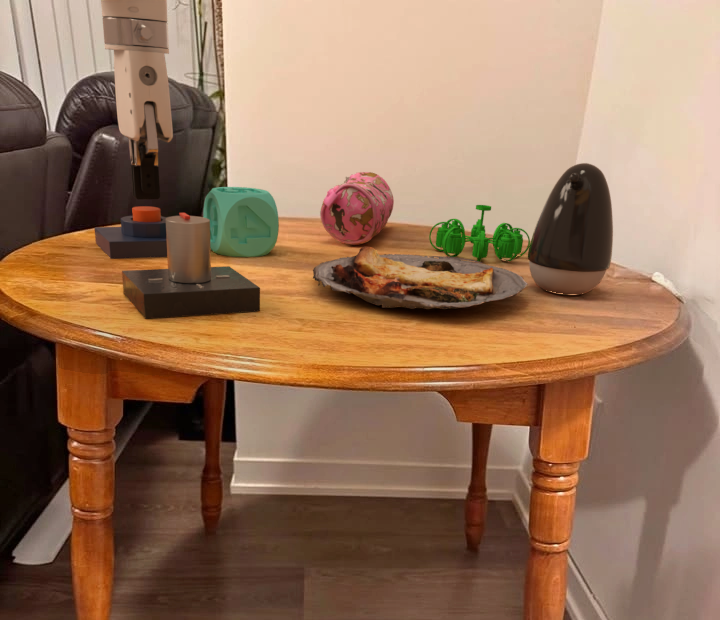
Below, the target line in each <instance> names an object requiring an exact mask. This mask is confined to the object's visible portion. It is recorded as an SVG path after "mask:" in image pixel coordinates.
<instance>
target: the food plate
mask: <svg viewBox="0 0 720 620" xmlns="http://www.w3.org/2000/svg"><path fill="white" fill-rule="evenodd" d="M312 274H313V276H312V279H314V281H316V282H317V283H318V285H317V287H319V286H321V285H322V287H323V288H325V287H326V286H330V289H331V291H334V292H345V293H348V294H349V295H351V294H353V295H354V296H356V297H357V298H360V299H362V300H364V301H365V302H367V303H370V304H373V305H376V306H381V309H383V308H385V309H386V308H388V309H389V308H390V309H391V308H392V309H394V308H407V309H410V310H411V309H412V310H414V309H424V310H425V309H426V310H430V309H440V310H446V309H447V310H450V309H454V310H455V309H460V308H462V309H464V308H469V307H473V306H478V305H481V304H483V303H488V302H492V301H499V300H502V301H505V300H506V298H510V297H515V296H516V295H517V294H519V293H521V292H522V291H524V289H526V287H527V286H528V285H529V283H528V282H526V280H524V277H523V276H521V275H519V274H518V273H516V272H514V271H512V270H508V269H506V268H502V267H498V266H494V265H489V264H486V263H485V262H482V261H481V262H479V261H477V260H475V259H470V258H464V257H458V256H456V257H449V256H445V255H443V256H441V255H432V256H428V255H420V254H410V253H409V254H404V253H402V254H401V253H400V254H399V253H394V254H393V253H388V254H386V253H385V254H379V252H378V250H377V249H375V248H374V247H371V246H362V247H360V249H359V250H358V253H357V254H355V255H354V256H346V257H345V256H343V257H339V258H336V259H332V260H328V261H327V260H326V261H324V262H323V261H322V262H320V263H319V264H317V265H316V266H314V267H313V268H312ZM320 283H321V285H320Z"/></svg>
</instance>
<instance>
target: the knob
mask: <svg viewBox="0 0 720 620" xmlns="http://www.w3.org/2000/svg"><path fill="white" fill-rule="evenodd" d="M166 217H167V218H166V238H167V257H166V258H167V269H168V278H169V279H170V280H171V281H174V282H179V283H203V282H207V281H210V280H211V267H212V261H211V260H212V259H211V257H212V256H211V255H212V254H211V252H212V251H211V248H210V220H209V219H207V218H204V216H196V215H189V214H188V213H186V212H179V215H172V216H166Z"/></svg>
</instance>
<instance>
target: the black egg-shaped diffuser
mask: <svg viewBox="0 0 720 620" xmlns="http://www.w3.org/2000/svg"><path fill="white" fill-rule="evenodd" d="M606 178H607V177H606V176H605V174H604V173H603V171H602V170H601V169H600V168H599V167H598V166H596V165H595V164H592V163H588V162H581V163H577V164H574V165H571V166H570V167H568V168H567V169H566V170H565V171H564V172H563V173H562V174H561V176H560V177H559V178H558V179H557V181H556V182H555V184H554V185H553V187H552V189H551V190H550V193H549V195H548V196H547V198H546V201H545V203H544V204H543V207H542V210H541V212H540V214H539V217H538V219H537V221H536V224H535V227H534V231H533V233H532V236H531V238H530V246H529V248H528V250H527V251H528V252H527V257H526V258H527V260H528V261H529V262H528V263H529V264H528V265H529V271H530V275H531V277H532V280H533V281H534V283H535V284H536V285H537V286H538V287H539V288H541V289H542V290H543V291H545V290H547V291H546V292H548V291H552V292H556V293H563V294H581V295H583V294H582V293H584V294H587V293H589V292H591V291H592V290H594V289H595V288H597V286H598V285H599V284H600V283H601V282H602V280H603V278H605V277H604V276H605V275H606V273H607V270H608V269H610V267H611V263H612V257H613V245H614V221H613V218H614V217H613V206H612V205H613V204H612V198H611V192H610V191H611V190H610V188H609V184H608V181H607V179H606Z"/></svg>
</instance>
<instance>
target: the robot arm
mask: <svg viewBox="0 0 720 620" xmlns="http://www.w3.org/2000/svg"><path fill="white" fill-rule="evenodd" d="M100 5H101V17H102V28H103V41H104V50H110V51H113V70H114V91H115V104H116V106H115V107H116V115H117V117H116V118H117V125H118V130H119V132H120V134H122V136H123V137H125V138H127V140H128V147H129V158H130V174H131V175H130V176H131V189H132V190H131V191H132V192H131V193H132V196H133V197H134V198H135V199H136V200H159V199H160V198H161V188H160V186H161V185H160V171H159V141H161V142H163V143H170V142H171V141H172V140H173V138H174V130H173V120H172V119H173V118H172V106H171V93H170V86H169V76H168V69H167V63H166V56H165V54H167V55H169V54H170V42H169V26H168V25H169V23H168V1H167V0H100Z"/></svg>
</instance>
